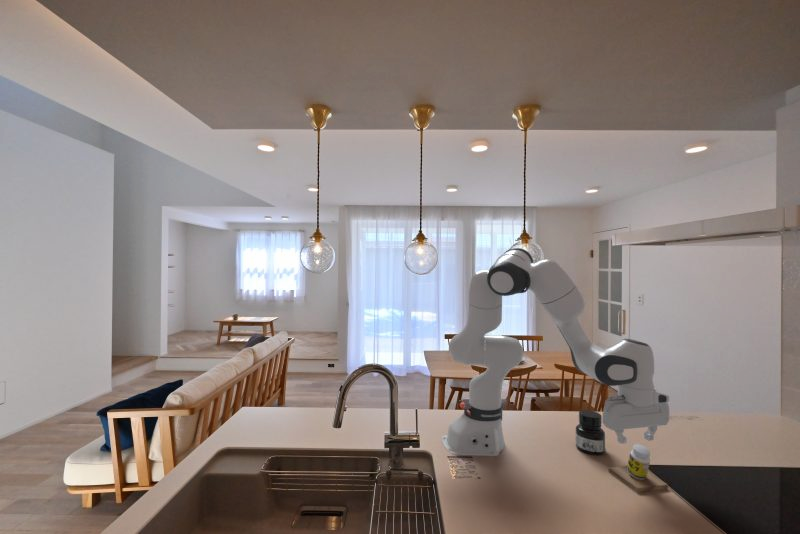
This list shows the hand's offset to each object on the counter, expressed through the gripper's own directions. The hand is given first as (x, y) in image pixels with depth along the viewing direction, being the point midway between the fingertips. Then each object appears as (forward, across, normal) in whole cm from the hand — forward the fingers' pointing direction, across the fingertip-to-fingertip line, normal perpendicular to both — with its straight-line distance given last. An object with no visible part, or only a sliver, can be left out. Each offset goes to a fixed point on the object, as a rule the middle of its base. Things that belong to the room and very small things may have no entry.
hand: (635, 441), depth 101 cm
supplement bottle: (+9, -1, -1) cm, 9 cm away
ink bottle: (+11, -1, +16) cm, 20 cm away
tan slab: (+11, -1, -2) cm, 11 cm away
